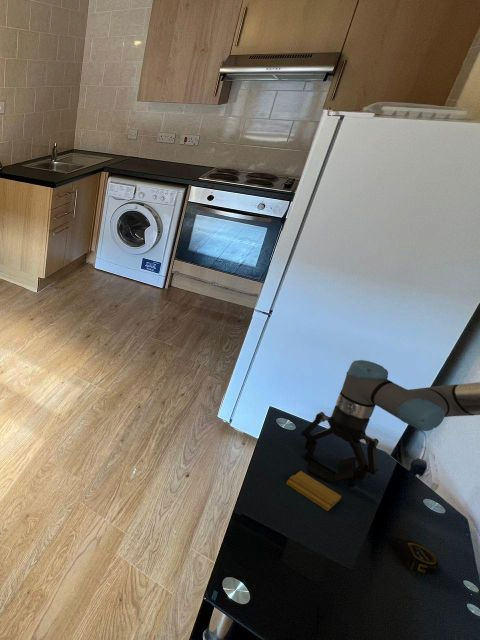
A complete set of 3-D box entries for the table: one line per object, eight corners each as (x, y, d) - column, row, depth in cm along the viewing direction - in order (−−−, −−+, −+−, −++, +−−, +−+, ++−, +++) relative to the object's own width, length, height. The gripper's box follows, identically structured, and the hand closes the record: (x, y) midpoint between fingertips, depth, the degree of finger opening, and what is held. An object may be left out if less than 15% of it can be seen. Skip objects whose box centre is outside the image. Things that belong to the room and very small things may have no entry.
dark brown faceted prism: (305, 447, 130) (338, 438, 124) (324, 465, 129) (358, 457, 122) (305, 473, 122) (340, 466, 115) (325, 493, 121) (362, 486, 114)
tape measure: (386, 544, 102) (391, 533, 100) (422, 554, 99) (427, 543, 98) (403, 571, 95) (409, 559, 94) (441, 582, 93) (447, 571, 92)
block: (340, 499, 114) (342, 494, 113) (327, 511, 110) (329, 506, 110) (299, 473, 122) (301, 468, 122) (286, 483, 119) (287, 478, 118)
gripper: (300, 392, 124) (280, 450, 131) (402, 441, 105) (373, 506, 112) (311, 385, 127) (292, 442, 134) (412, 432, 108) (384, 495, 115)
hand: (329, 471), depth 123 cm, fingers closed on dark brown faceted prism, 10 cm apart
